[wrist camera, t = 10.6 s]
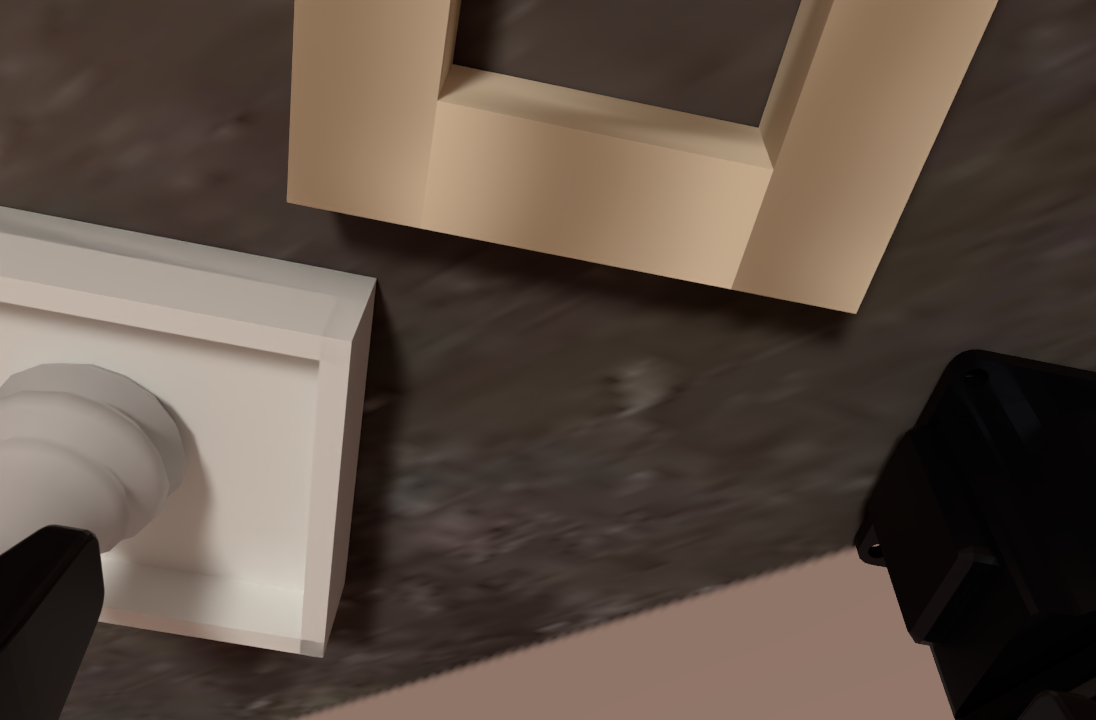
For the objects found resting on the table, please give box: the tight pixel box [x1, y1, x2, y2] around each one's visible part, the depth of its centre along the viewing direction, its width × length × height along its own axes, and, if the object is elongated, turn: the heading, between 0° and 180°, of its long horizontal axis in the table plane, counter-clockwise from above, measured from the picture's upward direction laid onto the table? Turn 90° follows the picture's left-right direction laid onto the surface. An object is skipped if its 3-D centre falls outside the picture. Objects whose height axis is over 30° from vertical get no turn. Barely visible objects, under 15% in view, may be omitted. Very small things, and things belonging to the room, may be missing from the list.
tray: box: [0, 206, 377, 658], centre depth 22 cm, size 12×10×2 cm
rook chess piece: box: [0, 363, 187, 554], centre depth 19 cm, size 4×4×8 cm
